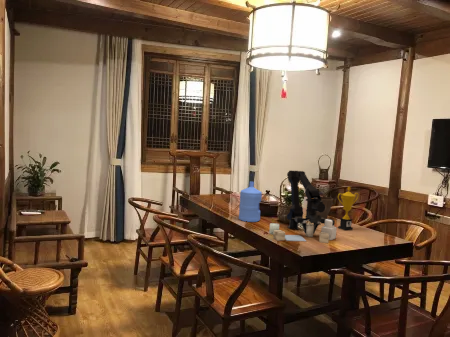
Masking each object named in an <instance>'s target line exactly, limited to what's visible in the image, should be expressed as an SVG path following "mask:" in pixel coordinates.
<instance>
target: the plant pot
mask: <svg viewBox="0 0 450 337" xmlns="http://www.w3.org/2000/svg"><path fill="white" fill-rule="evenodd" d="M320 197H321V200H322V201H323V204H324V205H325V210H324V211H323V212H318V211H316V214H317V215H321V217H323V218H325V219H328V216H329V214H330V211H331V208H332V206H333V202H334V198H333V197H329V196H321V195H320ZM313 199H315V198H313Z"/></svg>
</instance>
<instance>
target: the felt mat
mask: <svg viewBox="0 0 450 337" xmlns="http://www.w3.org/2000/svg"><path fill="white" fill-rule="evenodd" d="M285 241H287V242H307V240H306V239H305V238H304V237H303V236H302V235H301V234H300V235H299V234H285Z"/></svg>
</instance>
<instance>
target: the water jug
mask: <svg viewBox="0 0 450 337" xmlns="http://www.w3.org/2000/svg"><path fill="white" fill-rule="evenodd" d="M248 185H249V187H246V188H244V189H241V190H240V193H239V209H238V213H239V214H238V220H240V221H243V222H246V221H247V223H256V222H259V221H261V210H260V203H261V202H262V198H263V197H262V196H263V192H262V191H261V190H259V189H257V188H255V187H254V185H255V182H254V181H249V184H248Z"/></svg>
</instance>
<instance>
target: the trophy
mask: <svg viewBox="0 0 450 337" xmlns="http://www.w3.org/2000/svg"><path fill="white" fill-rule="evenodd" d="M340 195H341V196H340ZM359 195H360V194H359V193H358V192H355V193H354V194H353V193H352V192H351V186H347V191H346V192H345V193H344V192H343V193H338V195H337V200H338V202H339V203H341V205H342V207H343V210H344V211H345V215H344V216H342V217H340V222H339V223H340V224H339V225H338V227H337V228H338V229H340V230H343V231H353V229H354V227H353V226H352V223H353V219H352V218H350V216H349V211H351V210H352V208H353V205H354V204H355V203H356V202H357V200H358V199H359ZM339 197H340V198H339ZM341 200H342V201H341Z"/></svg>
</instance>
